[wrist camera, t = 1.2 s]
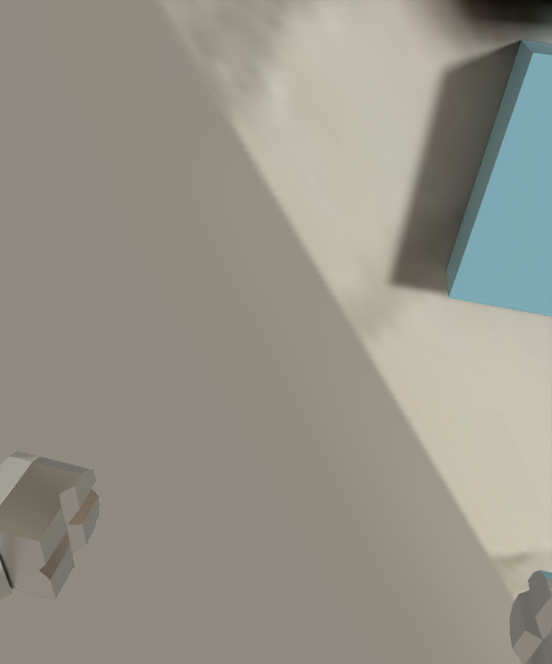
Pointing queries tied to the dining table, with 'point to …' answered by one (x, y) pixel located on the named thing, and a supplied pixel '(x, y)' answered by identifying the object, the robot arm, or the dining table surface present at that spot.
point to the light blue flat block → (512, 198)
